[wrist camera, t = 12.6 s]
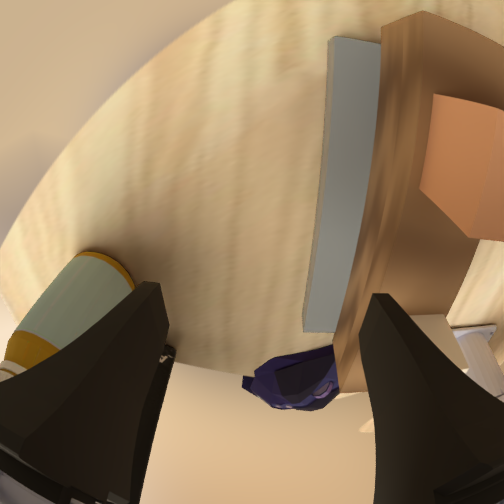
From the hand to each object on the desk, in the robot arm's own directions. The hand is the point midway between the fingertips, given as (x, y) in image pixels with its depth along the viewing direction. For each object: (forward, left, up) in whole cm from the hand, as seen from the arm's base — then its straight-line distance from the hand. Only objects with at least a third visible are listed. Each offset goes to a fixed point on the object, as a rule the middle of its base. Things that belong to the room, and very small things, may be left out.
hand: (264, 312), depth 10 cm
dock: (0, -8, -10) cm, 13 cm away
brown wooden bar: (0, -8, -8) cm, 12 cm away
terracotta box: (+6, -8, -3) cm, 10 cm away
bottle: (-8, +14, -11) cm, 19 cm away
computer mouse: (-19, -4, -11) cm, 22 cm away
